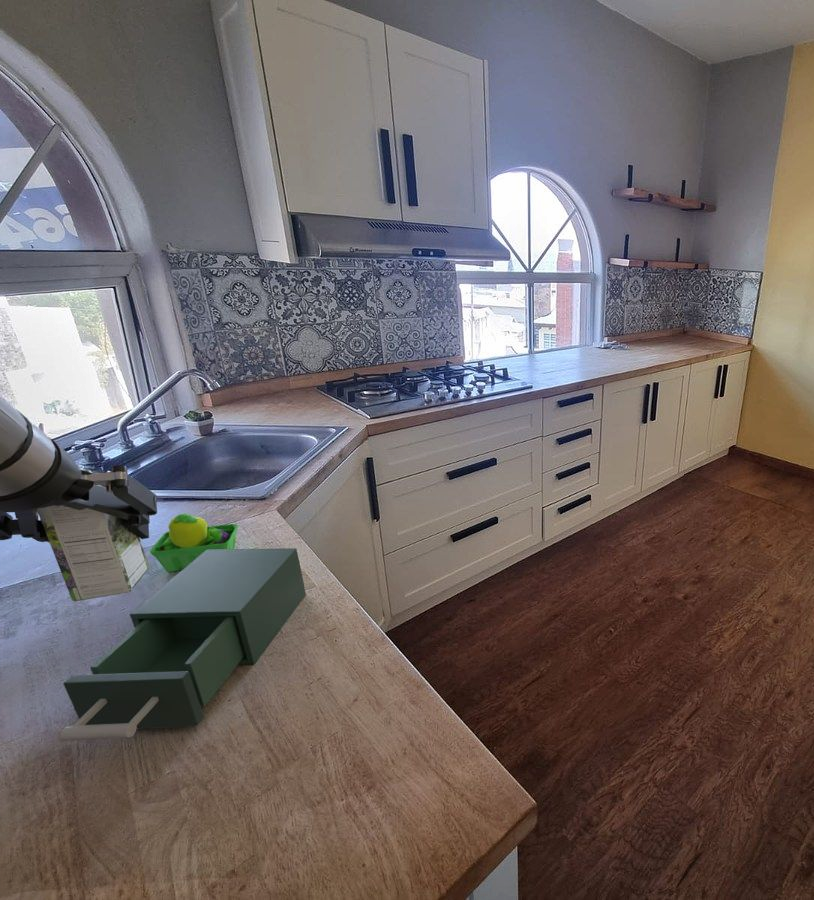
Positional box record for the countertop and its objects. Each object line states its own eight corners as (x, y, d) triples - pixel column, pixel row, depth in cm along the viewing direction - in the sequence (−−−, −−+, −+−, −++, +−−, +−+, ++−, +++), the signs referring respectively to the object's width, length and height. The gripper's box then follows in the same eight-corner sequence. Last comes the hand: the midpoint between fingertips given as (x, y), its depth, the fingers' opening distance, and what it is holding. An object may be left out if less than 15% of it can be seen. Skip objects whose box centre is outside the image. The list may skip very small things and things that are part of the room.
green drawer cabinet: (254, 664, 69) (240, 611, 66) (149, 668, 68) (129, 614, 65) (306, 594, 84) (296, 548, 81) (220, 596, 83) (206, 549, 79)
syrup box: (96, 576, 66) (57, 475, 60) (152, 568, 68) (118, 469, 62) (72, 603, 61) (26, 495, 55) (133, 593, 63) (94, 488, 57)
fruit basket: (244, 545, 97) (231, 493, 93) (230, 570, 89) (215, 515, 85) (173, 554, 93) (156, 500, 89) (152, 582, 86) (132, 524, 82)
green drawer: (168, 765, 55) (149, 715, 52) (44, 771, 54) (18, 721, 51) (264, 639, 73) (253, 598, 70) (172, 642, 72) (158, 600, 69)
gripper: (137, 414, 52) (200, 494, 71) (-158, 441, 43) (4, 525, 62) (140, 479, 50) (204, 544, 68) (-173, 522, 40) (1, 584, 59)
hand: (109, 535), depth 65 cm, fingers closed on syrup box, 6 cm apart
